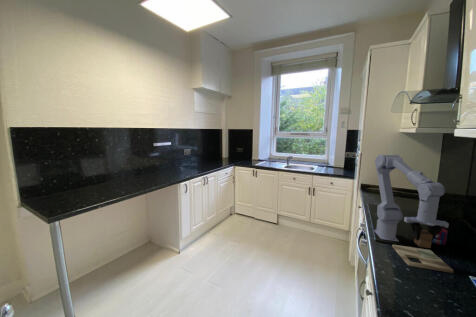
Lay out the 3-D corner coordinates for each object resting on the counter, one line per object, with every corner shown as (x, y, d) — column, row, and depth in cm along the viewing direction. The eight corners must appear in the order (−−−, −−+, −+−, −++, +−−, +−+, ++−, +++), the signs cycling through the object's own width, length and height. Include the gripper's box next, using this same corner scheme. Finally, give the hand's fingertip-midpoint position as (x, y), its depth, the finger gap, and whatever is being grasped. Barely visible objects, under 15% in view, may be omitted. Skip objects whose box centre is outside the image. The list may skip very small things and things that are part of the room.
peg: (413, 241, 87) (415, 229, 87) (424, 243, 86) (426, 230, 85) (419, 246, 84) (421, 233, 83) (430, 248, 83) (432, 235, 82)
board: (392, 246, 95) (392, 243, 95) (429, 252, 91) (430, 249, 91) (408, 265, 82) (408, 262, 82) (453, 273, 78) (453, 269, 78)
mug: (426, 240, 101) (428, 228, 100) (428, 234, 107) (430, 222, 106) (445, 246, 96) (447, 233, 95) (446, 239, 102) (448, 227, 101)
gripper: (412, 211, 81) (407, 242, 83) (456, 216, 77) (450, 248, 79) (403, 205, 88) (399, 233, 90) (443, 209, 84) (438, 239, 86)
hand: (422, 240), depth 85 cm, fingers closed on peg, 4 cm apart
